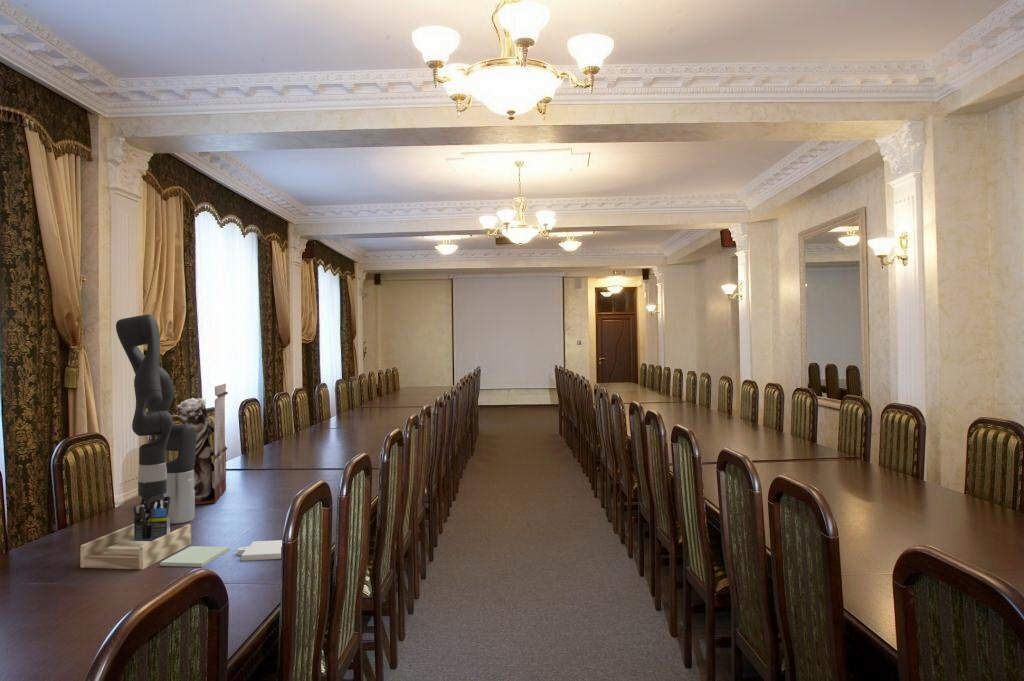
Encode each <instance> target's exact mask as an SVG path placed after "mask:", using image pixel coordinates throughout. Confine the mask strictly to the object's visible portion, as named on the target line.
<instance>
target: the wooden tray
mask: <svg viewBox="0 0 1024 681" xmlns="http://www.w3.org/2000/svg"><path fill="white" fill-rule="evenodd" d="M122 541H134V523H132V524H130V525H127V526H125V527H122V528H120V529H118V530H116V531H115V530H114V531H113V532H110V533H108V534H106V535H103V536H100V537H98V538H95V539H93V540H91V541H88V542H85V543H83V544H81V545H80V563H79V565H80V568H84V569H86V568H88V569H118V570H119V569H121V570H122V569H123V570H144V569H146V568H148V567H150V566H152V565H154V564H156V563H159V561H160V562H161V561H163V559H164V560H165V559H166V558H168V557H170V556H172V555H174V554H176V553H178V552H180V551H182V550H184V548H185V549H186V548H188V547H189V546H191V545H192V524H190V523H189V524H185V525H183V526H181V527H180V528H177V529H175V530H173V531H170V533H168V534H166V535H164V536H162V537H160V538H157V539H155V540H153V541H151V542H149V543H147V544H145V545H142V546H140V547H139V557H129V556H102V553H104V552H107V548H109V547H111V546H113V545H115V544H118V543H120V542H122Z"/></svg>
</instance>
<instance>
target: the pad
mask: <svg viewBox="0 0 1024 681" xmlns="http://www.w3.org/2000/svg"><path fill="white" fill-rule="evenodd" d="M229 551H230V546H203V545H202V546H199V545H198V546H196V545H193V546H192V545H189V546H187V547H185V549H184V548H183V549H182V550H180V551H178V552H176V553H174V554H172V555H170V556H168V557H166V558H164V560H161V561H160V562H159V563H160V566H161V567H186V568H187V567H192V568H193V567H194V568H195V567H196V568H203V567H204V566H206V565H208V564H210V563H211V562H213V561H214V560H216V559H218V558H219V557H221V556H223V555H224V554H226V553H228V552H229Z"/></svg>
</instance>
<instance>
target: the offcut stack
mask: <svg viewBox="0 0 1024 681" xmlns="http://www.w3.org/2000/svg"><path fill="white" fill-rule="evenodd" d="M149 542H151V541H122V542H120V543H118V544H115V545H113V546H111V547H109V548H107V552H104V553H102V556H129V557H139V547H140V546H142V545H145V544H147V543H149Z"/></svg>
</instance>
